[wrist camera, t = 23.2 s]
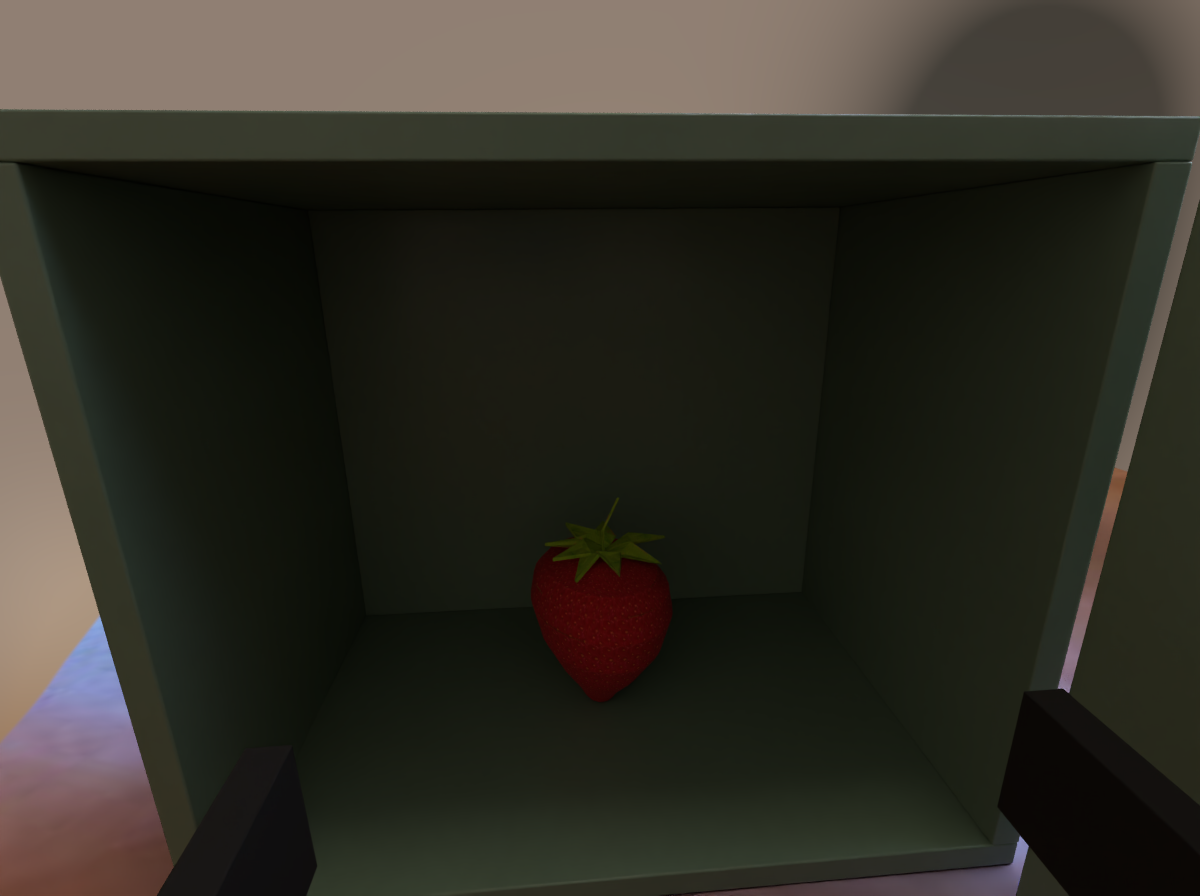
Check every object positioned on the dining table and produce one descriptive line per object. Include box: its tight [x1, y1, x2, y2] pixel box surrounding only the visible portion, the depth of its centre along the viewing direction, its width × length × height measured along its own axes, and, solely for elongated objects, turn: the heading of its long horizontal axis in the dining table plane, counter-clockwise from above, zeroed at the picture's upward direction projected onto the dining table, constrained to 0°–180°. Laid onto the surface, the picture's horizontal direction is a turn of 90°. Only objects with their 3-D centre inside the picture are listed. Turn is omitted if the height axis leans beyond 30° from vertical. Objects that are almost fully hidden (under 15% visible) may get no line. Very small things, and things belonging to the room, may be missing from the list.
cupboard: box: [0, 109, 1200, 896], centre depth 26 cm, size 18×28×24 cm, turn 95°
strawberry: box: [531, 498, 673, 702], centre depth 28 cm, size 6×8×10 cm
